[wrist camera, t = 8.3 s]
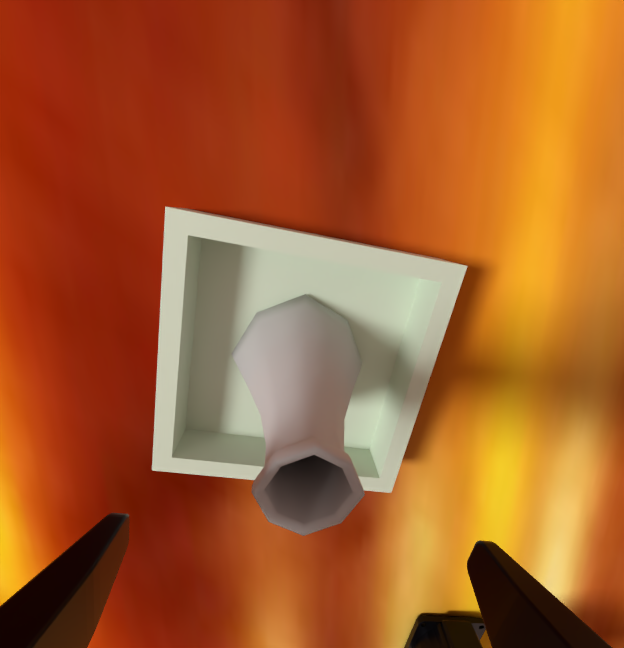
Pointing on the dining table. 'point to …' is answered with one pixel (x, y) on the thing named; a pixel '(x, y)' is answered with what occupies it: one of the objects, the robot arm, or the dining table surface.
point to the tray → (272, 289)
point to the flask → (302, 412)
